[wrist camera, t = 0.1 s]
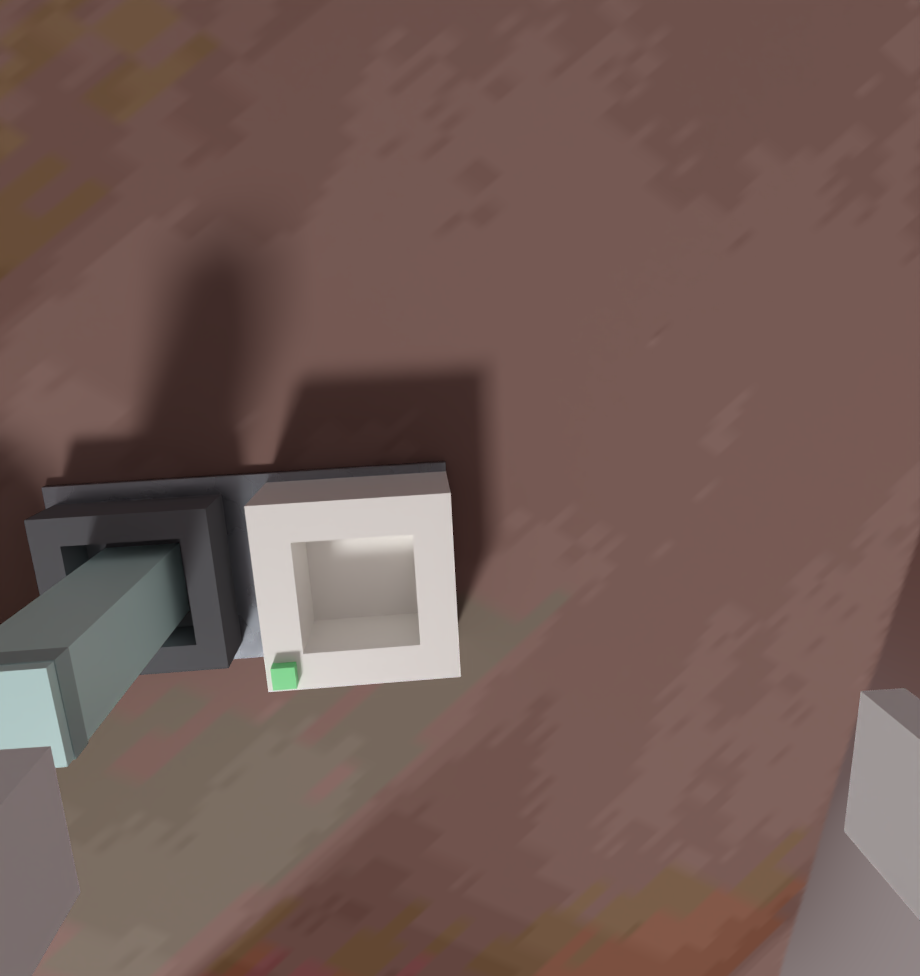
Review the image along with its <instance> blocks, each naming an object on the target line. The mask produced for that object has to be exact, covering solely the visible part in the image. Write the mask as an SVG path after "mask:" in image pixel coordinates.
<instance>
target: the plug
mask: <svg viewBox="0 0 920 976" xmlns="http://www.w3.org/2000/svg"><path fill="white" fill-rule="evenodd" d="M189 610H190V609H189V602H188V596H187V589H186V583H185V577H184V570H183V564H182V558H181V551H180V545H179V543H172V544H157V545H142V546H127V547H112V548H104V549H103V550H102V551H100V552H99V553H98V554H96V555H95V556H94V557H92V558H91V559H89V560H88V561H87V562H85V563H84V564H83V565H81V566H80V567H79V568H77V569H76V570H74V571H73V572H72V573H70V574H69V575H68V576H66V577H65V578H63V579H62V580H61V581H59V582H58V583H57V584H55V585H54V586H53V587H51V588H50V589H48V590H47V591H46V592H44V593H43V594H42V595H40V596H39V597H38V598H36V599H35V600H33V601H32V602H31V603H29V604H28V605H27V606H25V607H24V608H22V609H21V610H20V611H18V612H17V613H16V614H14V615H13V616H12V617H10V618H9V619H7V620H6V621H5V622H3V623H2V624H1V625H0V750H2V749H17V748H31V747H46V746H51V750H52V755H53V760H54V765H55V768H58V767H68V766H69V764H70V763H71V762H72V760H73V759H76V758H77V757H78V756H79V755H80V753H81V752H82V751H83V749H84V748H85V747H86V746H87V744H88V740H89V739H90V737H91V736H92V735H93V733H94V732H95V731H96V730H97V728H98V727H99V726H100V724H101V723H102V722H103V721H104V719H105V718H106V717H107V715H108V714H109V713H110V712H111V710H112V709H113V708H114V706H115V705H116V704H117V703H118V701H119V700H120V699H121V697H122V696H123V695H124V694H125V692H126V691H127V690H128V689H129V687H130V686H131V685H132V683H133V682H134V681H135V680H136V678H137V677H138V676H139V674H140V673H141V672H142V671H143V669H144V668H145V667H146V665H147V664H148V663H149V662H150V660H151V659H152V658H153V656H154V655H155V654H156V653H157V651H158V650H159V649H160V647H161V646H162V645H163V644H164V642H165V641H166V640H167V638H168V637H169V636H170V635H171V633H172V632H173V631H174V629H175V628H176V627H177V626H178V624H179V623H180V622H181V620H182V619H183V618H184V617H185V615H186V614H187V613H188V611H189Z"/></svg>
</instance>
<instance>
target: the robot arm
mask: <svg viewBox="0 0 920 976" xmlns="http://www.w3.org/2000/svg"><path fill="white" fill-rule="evenodd" d="M844 832H845V833H846V834H847V835H848V837H849V838H850V839H851V840H852V841H853V842H854V844H855V845H856V846H857V847H858V848H859V850H860V851H861V852H862V853H863V854H864V855H865V857H866V858H867V859H868V860H869V861H870V863H871V864H872V865H873V866H874V867H875V868H876V870H877V871H878V872H879V873H880V874H881V875H882V877H883V878H884V879H885V880H886V881H887V882H888V884H889V885H890V886H891V887H892V888H893V890H894V891H895V892H896V893H897V894H898V896H899V897H900V898H901V899H902V900H903V901H904V902H905V904H906V905H907V906H908V907H909V908H910V910H911V911H912V912H913V913H914V914H915V916H916V917H917V918H918V919H919V920H920V699H919V698H917V697H916V696H915V695H913V694H912V693H910V692H909V691H908V690H907V689H905V688H901V689H886V690H873V691H872V690H871V691H861V694H860V703H859V711H858V719H857V728H856V736H855V745H854V752H853V761H852V769H851V778H850V785H849V795H848V802H847V810H846V819H845V827H844ZM79 894H80V888H79V883H78V878H77V873H76V869H75V864H74V859H73V854H72V849H71V844H70V839H69V834H68V829H67V824H66V819H65V814H64V809H63V804H62V799H61V794H60V789H59V785H58V780H57V775H56V770H55V765H54V760H53V755H52V750H51V746H46V747H31V748H17V749H2V750H0V976H32V974H33V972H34V971H35V969H36V967H37V966H38V964H39V962H40V960H41V959H42V957H43V955H44V954H45V952H46V950H47V948H48V947H49V945H50V943H51V942H52V940H53V938H54V937H55V935H56V933H57V931H58V930H59V928H60V926H61V925H62V923H63V921H64V919H65V918H66V916H67V914H68V913H69V911H70V909H71V907H72V906H73V904H74V902H75V901H76V899H77V897H78V895H79Z"/></svg>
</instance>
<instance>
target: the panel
mask: <svg viewBox="0 0 920 976" xmlns="http://www.w3.org/2000/svg"><path fill="white" fill-rule="evenodd" d="M442 471H446V465H445V461H439V462H423V463H407V464H391V465H375V466H359V467H343V468H327V469H311V470H294V471H278V472H262V473H246V474H230V475H214V476H198V477H182V478H166V479H150V480H134V481H118V482H102V483H85V484H69V485H53V486H44V487H42V493H43V498H44V503H45V508H46V509H47V508H49V507H51V506H53V505H60V504H76V503H91V502H107V501H123V500H138V499H154V498H170V497H186V496H201V495H217V494H221V495H222V502H223V509H224V516H225V524H226V531H227V538H228V545H229V552H230V560H231V567H232V574H233V581H234V588H235V596H236V603H237V610H238V617H239V624H240V632H241V639H242V644H241V646H240V647H239V649H238V651H237V653H236V655H235V657H234V659H240V658H253V657H264V654H263V646H262V639H261V631H260V624H259V616H258V608H257V601H256V593H255V585H254V578H253V570H252V563H251V555H250V547H249V540H248V532H247V525H246V517H245V509H244V506H245V505H246V504H247V503H248V502H249V500H250V499H251V498H252V497H253V496H254V495H255V494H256V493H257V492H258V491H259V490H260V489H261V487H262V486H263V485H264V484H265V483H267V482H283V481H299V480H315V479H331V478H347V477H362V476H378V475H394V474H410V473H426V472H442Z"/></svg>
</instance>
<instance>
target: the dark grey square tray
mask: <svg viewBox="0 0 920 976" xmlns="http://www.w3.org/2000/svg"><path fill="white" fill-rule="evenodd" d="M24 524H25V528H26V533H27V538H28V542H29V547H30V552H31V556H32V561H33V566H34V570H35V575H36V580H37V584H38V589H39V594H40V595H42V594H43V593H44V592H46V591H47V590H48V589H50V588H51V587H53V586H54V585H55V584H57V583H58V582H59V581H61V580H62V579H63V578H65V577H66V576H68V575H69V574H70V573H72V572H73V571H74V570H76V569H77V568H79V567H80V566H81V565H83V564H84V563H85V562H87V561H88V560H89V559H91V558H92V557H94V556H95V555H96V554H98V553H99V552H100V551H102V550H103V549H104V548H112V547H127V546H142V545H157V544H172V543H179V545H180V551H181V558H182V564H183V570H184V577H185V583H186V589H187V596H188V602H189V609H190V610H189V611H188V613H187V614H186V615H185V617H184V618H183V619H182V620H181V622H180V623H179V624H178V626H177V627H176V628H175V629H174V631H173V632H172V633H171V635H170V636H169V637H168V638H167V640H166V641H165V642H164V644H163V645H162V646H161V647H160V649H159V650H158V651H157V653H156V654H155V655H154V656H153V658H152V659H151V660H150V662H149V663H148V664H147V665H146V667H145V668H144V669H143V671H142V672H141V673H140V674H139V675H144V674H157V673H170V672H183V671H196V670H209V669H222V668H229V666H230V664H231V662H232V661H233V659H234V657H235V655H236V653H237V651H238V649H239V647H240V646H241V644H242V639H241V632H240V624H239V617H238V610H237V603H236V596H235V588H234V581H233V574H232V567H231V560H230V552H229V545H228V538H227V531H226V524H225V516H224V509H223V502H222V495H221V494H217V495H201V496H186V497H170V498H154V499H138V500H123V501H107V502H91V503H76V504H60V505H53V506H51V507H49V508H47V509H45V510H43V511H41V512H39V513H37V514H35V515H33V516H31V517H30V518H28V519H26V520H24Z"/></svg>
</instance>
